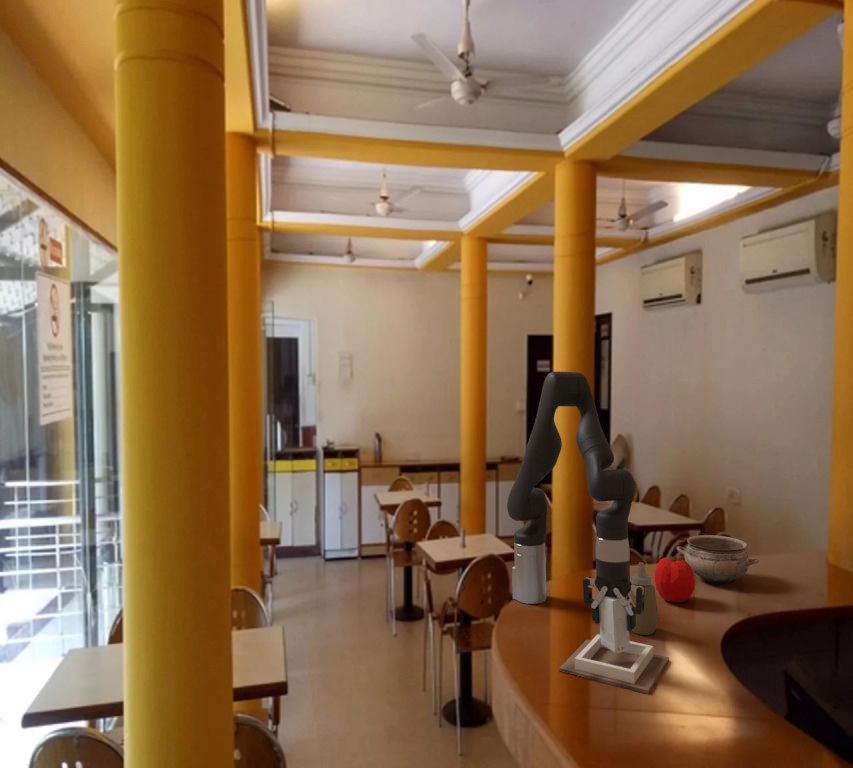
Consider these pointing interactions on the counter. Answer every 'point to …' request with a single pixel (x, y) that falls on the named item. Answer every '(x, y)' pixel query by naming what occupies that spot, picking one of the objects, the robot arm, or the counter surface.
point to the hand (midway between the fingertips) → (614, 626)
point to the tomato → (674, 579)
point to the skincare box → (613, 625)
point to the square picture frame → (611, 670)
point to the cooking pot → (717, 557)
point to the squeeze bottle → (645, 603)
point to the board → (621, 660)
